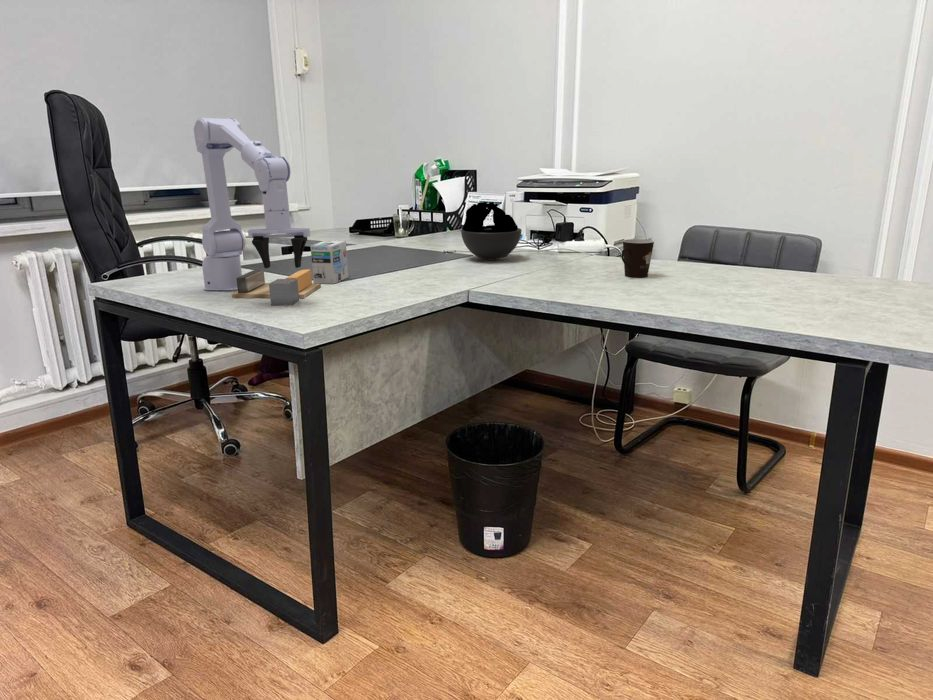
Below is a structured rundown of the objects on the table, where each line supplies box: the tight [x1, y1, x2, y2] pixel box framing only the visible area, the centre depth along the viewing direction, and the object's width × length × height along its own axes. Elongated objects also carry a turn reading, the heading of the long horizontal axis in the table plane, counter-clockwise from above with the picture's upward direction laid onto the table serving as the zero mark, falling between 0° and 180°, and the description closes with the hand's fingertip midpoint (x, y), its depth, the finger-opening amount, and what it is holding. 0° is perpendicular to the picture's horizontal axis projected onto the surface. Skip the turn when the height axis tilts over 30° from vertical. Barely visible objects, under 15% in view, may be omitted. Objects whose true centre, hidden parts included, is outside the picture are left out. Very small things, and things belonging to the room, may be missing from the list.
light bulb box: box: [310, 240, 349, 285], centre depth 187 cm, size 11×7×11 cm, turn 168°
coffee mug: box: [620, 238, 655, 279], centre depth 187 cm, size 12×9×10 cm
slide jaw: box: [284, 269, 313, 291], centre depth 172 cm, size 3×12×4 cm, turn 175°
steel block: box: [268, 278, 300, 307], centre depth 161 cm, size 5×6×6 cm
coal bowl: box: [460, 201, 522, 261], centre depth 217 cm, size 20×20×19 cm
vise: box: [230, 268, 322, 299], centre depth 173 cm, size 19×14×5 cm
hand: (282, 267), depth 159 cm, fingers open, 7 cm apart
